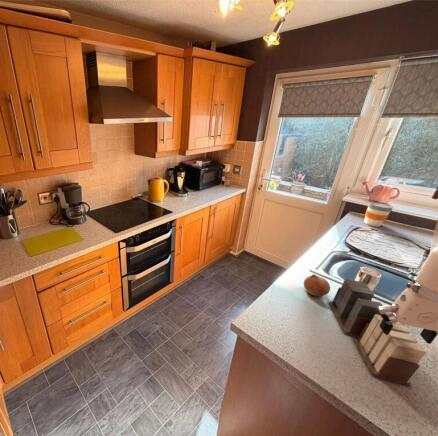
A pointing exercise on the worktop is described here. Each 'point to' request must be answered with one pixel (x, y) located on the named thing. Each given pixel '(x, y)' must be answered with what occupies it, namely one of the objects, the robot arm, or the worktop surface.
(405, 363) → the cream rack
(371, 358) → the cream book
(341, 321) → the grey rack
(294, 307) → the worktop surface
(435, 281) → the robot arm
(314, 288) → the onion
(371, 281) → the beer glass
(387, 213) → the reusable coffee cup
